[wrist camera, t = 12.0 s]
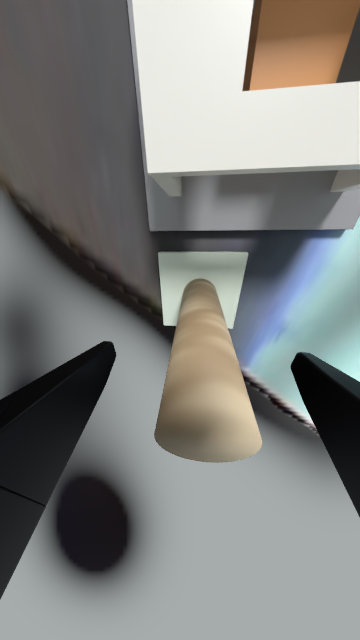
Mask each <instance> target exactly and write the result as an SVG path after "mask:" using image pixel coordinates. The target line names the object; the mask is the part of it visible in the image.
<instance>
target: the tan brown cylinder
mask: <svg viewBox="0 0 360 640" xmlns="http://www.w3.org/2000/svg"><path fill="white" fill-rule="evenodd" d="M154 435H155V440H156V442H157V443H158V444H159V445H160V446H161V447H162V448H163V449H165V450H166V451H168V452H170V453H172V454H174V455H177V456H180V457H183V458H186V459H190V460H195V461H202V462H231V461H237V460H242V459H245V458H248V457H250V456H252V455H254V454H255V453H257V452H258V451H259V450H260V448H261V446H262V439H261V436H260V433H259V429H258V426H257V423H256V419H255V416H254V413H253V409H252V406H251V403H250V400H249V396H248V394H247V390H246V386H245V383H244V380H243V377H242V373H241V370H240V367H239V363H238V360H237V357H236V354H235V350H234V347H233V344H232V341H231V337H230V334H229V331H228V327H227V324H226V321H225V318H224V314H223V311H222V308H221V304H220V301H219V298H218V295H217V291H216V288H215V286H214V285H213V284H212V283H211V282H210V281H208V280H206V279H194V280H192V281H190V282H189V283H188V284H187V285H186V286H185V288H184V291H183V296H182V300H181V305H180V310H179V315H178V320H177V325H176V330H175V335H174V340H173V345H172V350H171V355H170V360H169V365H168V370H167V375H166V379H165V384H164V389H163V395H162V399H161V404H160V409H159V414H158V419H157V424H156V429H155V434H154Z"/></svg>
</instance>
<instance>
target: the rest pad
mask: <svg viewBox="0 0 360 640" xmlns="http://www.w3.org/2000/svg"><path fill="white" fill-rule="evenodd" d="M247 258H248V253H247V252H158V259H159V272H160V284H161V297H162V309H163V322H164V325H166V326H176V325H177V320H178V315H179V310H180V305H181V300H182V296H183V291H184V288H185V286H186V285H187V284H188V283H189V282H190V281H192V280H194V279H206V280H208V281H210V282H211V283H212V284H213V285H214V286H215V288H216V291H217V295H218V298H219V301H220V304H221V308H222V311H223V314H224V318H225V321H226V324H227V327H228V328H231V329H233V324H234V319H235V315H236V310H237V305H238V300H239V296H240V291H241V286H242V282H243V277H244V272H245V267H246V263H247Z"/></svg>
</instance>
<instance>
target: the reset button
mask: <svg viewBox="0 0 360 640" xmlns="http://www.w3.org/2000/svg"><path fill="white" fill-rule="evenodd" d="M359 8H360V0H256V2H255V6H254V10H253V13H252V18H251V26H250V34H249V41H248V49H247V57H246V65H245V73H244V81H243V89H242V91H252V90H264V89H275V88H287V87H299V86H310V85H322V84H333V83H336V80H337V77H338V74H339V71H340V67H341V64H342V61H343V58H344V55H345V52H346V49H347V45H348V42H349V39H350V36H351V33H352V30H353V27H354V23H355V20H356V17H357V14H358V11H359Z"/></svg>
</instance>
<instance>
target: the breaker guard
mask: <svg viewBox="0 0 360 640" xmlns="http://www.w3.org/2000/svg"><path fill="white" fill-rule="evenodd" d="M255 2H256V0H127V3H128V13H129V23H130V33H131V43H132V53H133V64H134V74H135V84H136V94H137V104H138V114H139V124H140V134H141V145H142V155H143V165H144V175H145V185H146V195H147V205H148V215H149V226H150V231H209V230H323V229H353V228H354V226H355V224H356V222H357V220H358V218H359V216H360V8H359V11H358V14H357V17H356V20H355V23H354V27H353V30H352V33H351V36H350V39H349V42H348V45H347V49H346V52H345V55H344V58H343V61H342V64H341V67H340V71H339V74H338V77H337V80H336V83H333V84H322V85H310V86H299V87H287V88H275V89H264V90H252V91H242V89H243V81H244V73H245V65H246V57H247V49H248V41H249V34H250V26H251V18H252V13H253V10H254V6H255Z"/></svg>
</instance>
